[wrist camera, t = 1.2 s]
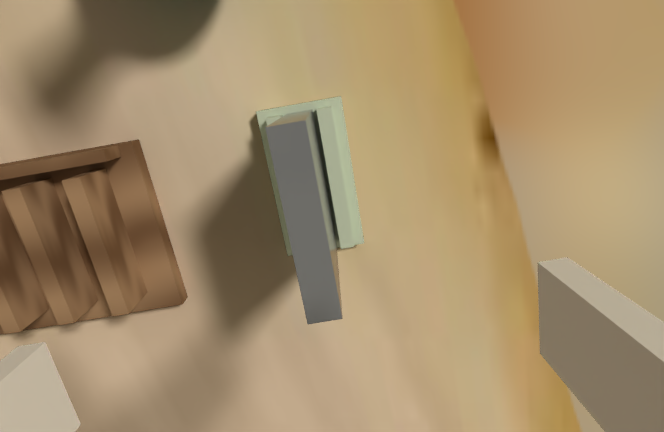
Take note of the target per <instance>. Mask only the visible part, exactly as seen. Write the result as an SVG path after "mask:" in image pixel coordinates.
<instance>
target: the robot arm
mask: <svg viewBox="0 0 664 432" xmlns="http://www.w3.org/2000/svg"><path fill="white" fill-rule="evenodd" d="M538 296H539V333H540V354H541V355H542V356H543V358H544V359H545V360H546V361H547V362H548V364H549V365H550V366H551V367H552V368H553V370H554V371H555V372H556V373H557V374H558V376H559V377H560V378H561V379H562V380H563V382H564V383H565V384H566V385H567V387H568V388H569V389H570V390H571V391H572V392H573V394H574V395H575V396H576V397H577V399H578V400H579V401H580V402H581V403H582V404H583V406H584V407H585V408H586V409H587V411H588V412H589V413H590V414H591V415H592V417H593V418H594V419H595V420H596V421H597V423H598V424H599V425H600V426H601V428H602V429H603V430H604V431H605V432H664V322H663V321H661V320H660V319H658V318H657V317H656V316H654V315H652V314H651V313H649V312H648V311H646V310H645V309H644V308H642V307H640V306H639V305H638V304H636V303H635V302H633V301H632V300H630V299H629V298H627V297H625V296H624V295H623V294H621V293H620V292H618V291H617V290H615V289H614V288H612V287H611V286H609V285H608V284H606V283H605V282H603V281H602V280H600V279H599V278H598V277H596V276H594V275H593V274H591V273H590V272H589V271H587V270H586V269H584V268H583V267H581V266H580V265H578V264H577V263H575V262H574V261H572V260H571V259H569V258H561V259H555V260H549V261H542V262H538ZM80 425H81V424H80V421H79V419H78V417H77V414H76V412H75V410H74V407H73V405H72V403H71V400H70V398H69V396H68V394H67V391H66V389H65V387H64V384H63V382H62V380H61V377H60V375H59V373H58V371H57V368H56V366H55V364H54V361H53V359H52V357H51V354H50V352H49V350H48V347H47V345H46V343H45V342H42V343H36V344H30V345H23V346H18V347H16V348H15V349H14V350H13V351H11V352H10V353H9V354H8V355H7V356H5V357H4V358H3V359H2V360H0V432H75V431H76V430H77V429H78V427H79V426H80Z"/></svg>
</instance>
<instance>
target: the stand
mask: <svg viewBox="0 0 664 432" xmlns="http://www.w3.org/2000/svg"><path fill="white" fill-rule="evenodd" d="M311 109H313V115H314V120H315V126H316V132H317V137H318V143H319V148H320V154H321V159H322V165H323V171H324V176H325V182H326V187H327V193H328V198H329V204H330V209H331V215H332V221H333V226H334V232H335V237H336V244H337V248H339V247H341V249H343V248H349V247H354V245H357V244H363V243H364V238H363V232H362V226H361V219H360V213H359V207H358V200H357V194H356V188H355V181H354V175H353V169H352V162H351V156H350V150H349V143H348V137H347V131H346V124H345V118H344V112H343V105H342V99H341V96H339V97H334V98H328V99H323V100H317V101H311V102H306V103H300V104H295V105H289V106H283V107H278V108H272V109H267V110H261V111H257V112H256V114H257V119H258V123H259V128H260V132H261V137H262V141H263V146H264V151H265V155H266V160H267V164H268V169H269V173H270V178H271V182H272V187H273V191H274V196H275V200H276V205H277V210H278V214H279V219H280V223H281V228H282V232H283V237H284V241H285V246H286V250H287V255H288V256H291V255H293V254H292V249H291V245H290V240H289V235H288V231H287V226H286V221H285V217H284V212H283V208H282V203H281V198H280V194H279V189H278V184H277V180H276V175H275V171H274V166H273V161H272V157H271V152H270V147H269V143H268V138H267V134H266V129H265V127H266V126H268V125H270V124H271V123H273V122H275V121H276V120H278V119H279V118H281V117H283V116H284V115H286V114H288V113H294V112H300V111H305V110H311Z"/></svg>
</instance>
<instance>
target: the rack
mask: <svg viewBox="0 0 664 432" xmlns="http://www.w3.org/2000/svg"><path fill="white" fill-rule="evenodd" d="M186 298H187V293H186V290H185V287H184V284H183V281H182V277H181V274H180V271H179V268H178V264H177V261H176V258H175V255H174V252H173V248H172V245H171V242H170V239H169V235H168V232H167V229H166V226H165V223H164V219H163V216H162V213H161V210H160V206H159V203H158V200H157V197H156V193H155V190H154V187H153V184H152V181H151V177H150V174H149V171H148V168H147V164H146V161H145V158H144V155H143V152H142V148H141V145H140V142H139V140H134V141H128V142H123V143H117V144H111V145H106V146H100V147H94V148H89V149H83V150H78V151H72V152H66V153H61V154H55V155H50V156H44V157H38V158H33V159H27V160H21V161H16V162H10V163H5V164H0V334H4V333H5V334H8V333H14V332H21V331H22V330H28V329H35V328H41V327H47V326H53V325H63V324H69V323H75V322H77V321H83V320H89V319H96V318H102V317H108V316H118V315H124V314H129V313H132V312H138V311H144V310H150V309H156V308H163V307H169V306H175V305H181V304H183V303H184V301H185V300H186Z"/></svg>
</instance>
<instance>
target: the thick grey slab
mask: <svg viewBox="0 0 664 432" xmlns="http://www.w3.org/2000/svg"><path fill="white" fill-rule="evenodd" d="M265 129H266V134H267V138H268V143H269V147H270V152H271V157H272V161H273V166H274V171H275V175H276V180H277V184H278V189H279V194H280V198H281V203H282V208H283V212H284V217H285V221H286V226H287V231H288V235H289V240H290V245H291V249H292V254H293V258H294V263H295V268H296V272H297V277H298V282H299V286H300V291H301V295H302V300H303V305H304V309H305V314H306V319H307V323H308V324H313V323H319V322H325V321H331V320H338V319H343V318H342V306H341V294H340V281H339V269H338V257H337V244H336V237H335V232H334V226H333V221H332V215H331V209H330V204H329V198H328V193H327V187H326V182H325V176H324V171H323V165H322V159H321V154H320V148H319V143H318V137H317V132H316V126H315V120H314V115H313V109H311V110H305V111H300V112H294V113H288V114H286V115H284V116H283V117H281V118H279V119H278V120H276V121H275V122H273V123H271V124H270V125H268V126H266V127H265Z"/></svg>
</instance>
